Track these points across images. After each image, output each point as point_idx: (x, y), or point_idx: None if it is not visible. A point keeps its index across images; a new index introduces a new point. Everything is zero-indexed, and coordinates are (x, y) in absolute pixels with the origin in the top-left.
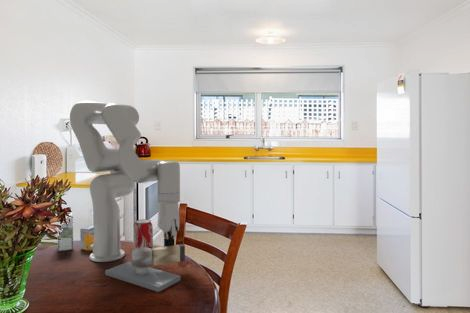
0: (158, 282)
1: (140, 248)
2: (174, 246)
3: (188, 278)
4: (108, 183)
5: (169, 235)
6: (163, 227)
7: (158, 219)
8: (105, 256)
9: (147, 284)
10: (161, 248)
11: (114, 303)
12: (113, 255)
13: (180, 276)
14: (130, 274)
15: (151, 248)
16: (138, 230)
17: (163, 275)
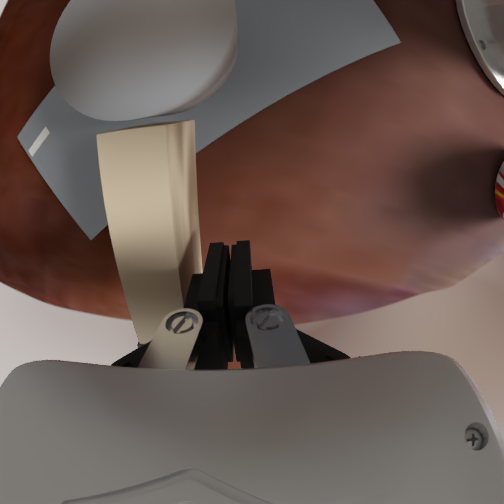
0: (45, 137)
1: (206, 12)
2: (156, 318)
3: (113, 264)
4: None
5: (121, 366)
6: (51, 416)
7: (450, 488)
8: (479, 2)
9: (53, 89)
10: (126, 213)
11: (21, 3)
12: (485, 31)
13: (91, 238)
14: None
15: (498, 212)
16: None
17: None
